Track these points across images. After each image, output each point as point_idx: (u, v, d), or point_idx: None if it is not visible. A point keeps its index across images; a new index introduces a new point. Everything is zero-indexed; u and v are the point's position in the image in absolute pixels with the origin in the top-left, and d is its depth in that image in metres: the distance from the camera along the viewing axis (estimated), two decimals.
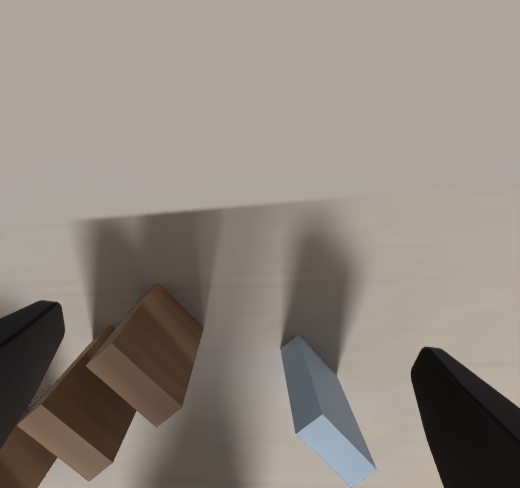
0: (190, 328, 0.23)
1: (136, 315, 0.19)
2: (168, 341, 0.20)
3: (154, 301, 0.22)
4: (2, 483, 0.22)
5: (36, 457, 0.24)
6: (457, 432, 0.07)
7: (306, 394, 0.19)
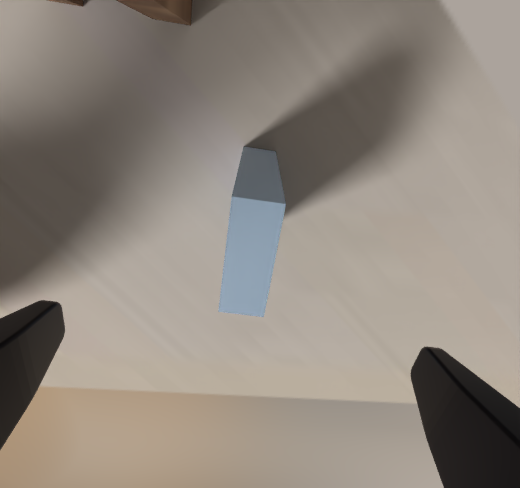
0: None
1: None
2: None
3: None
4: None
5: None
6: (457, 432, 0.07)
7: (266, 183, 0.13)
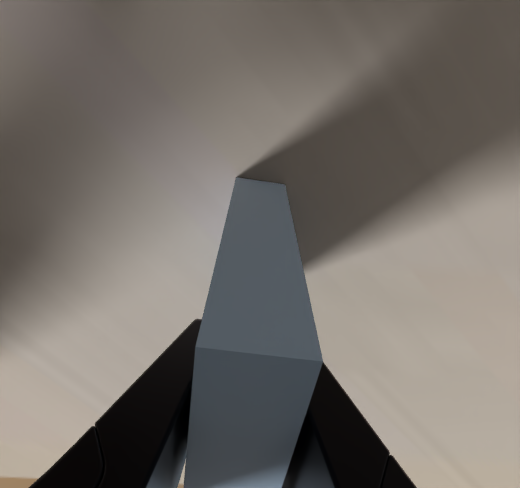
0: None
1: None
2: None
3: None
4: None
5: None
6: None
7: (275, 276, 0.06)
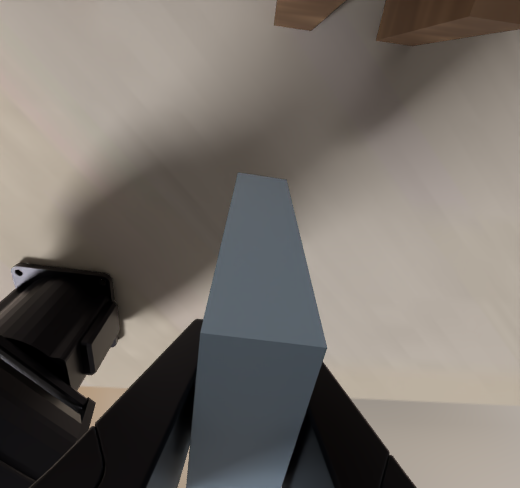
0: None
1: None
2: None
3: None
4: None
5: None
6: None
7: (278, 266, 0.06)
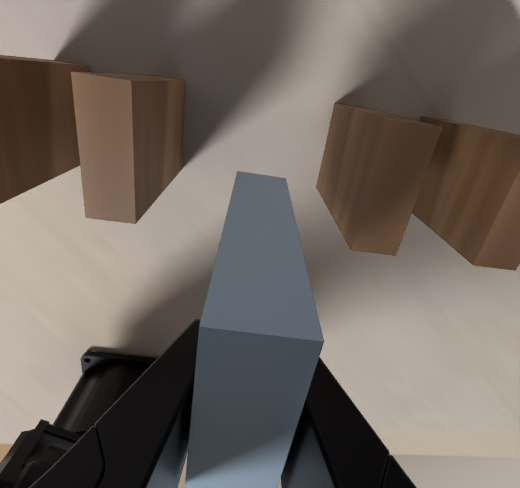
0: None
1: None
2: None
3: None
4: (160, 148, 0.14)
5: (173, 155, 0.17)
6: None
7: (276, 263, 0.07)
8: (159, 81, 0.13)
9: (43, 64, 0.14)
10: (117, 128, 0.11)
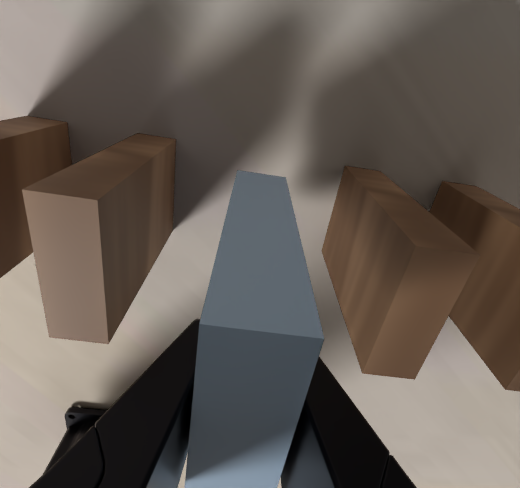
0: None
1: None
2: None
3: None
4: (143, 235, 0.12)
5: (161, 227, 0.15)
6: None
7: (276, 261, 0.07)
8: (140, 167, 0.11)
9: (6, 140, 0.12)
10: (82, 249, 0.09)
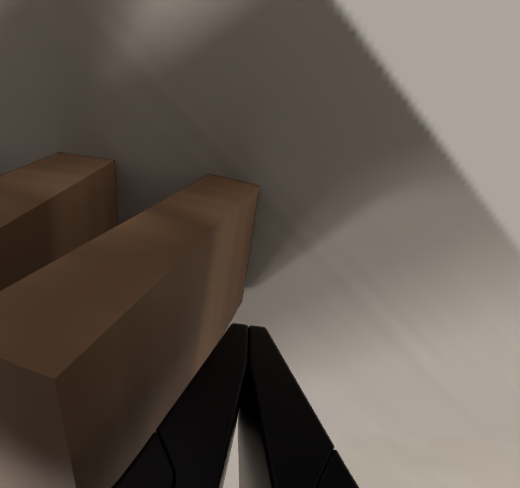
0: (231, 302, 0.11)
1: (189, 257, 0.07)
2: (190, 341, 0.08)
3: (233, 227, 0.09)
4: None
5: None
6: (245, 410, 0.07)
7: None
8: None
9: None
10: None
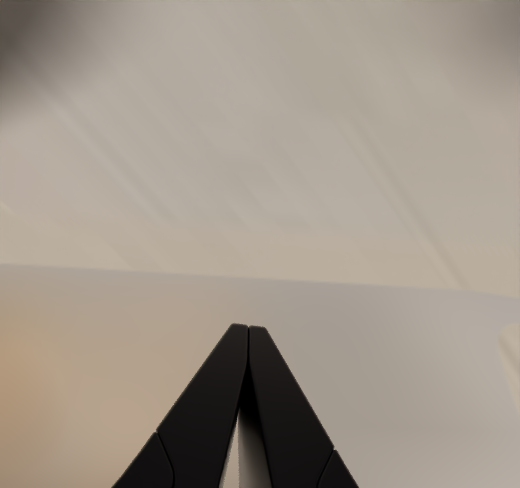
0: None
1: None
2: None
3: None
4: None
5: None
6: (245, 410, 0.07)
7: None
8: None
9: None
10: None
